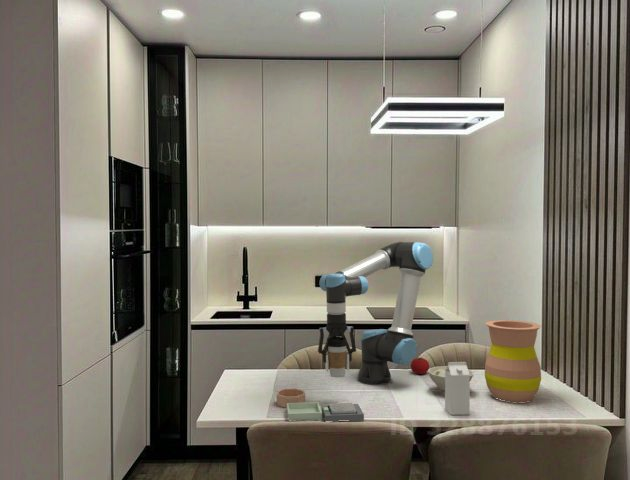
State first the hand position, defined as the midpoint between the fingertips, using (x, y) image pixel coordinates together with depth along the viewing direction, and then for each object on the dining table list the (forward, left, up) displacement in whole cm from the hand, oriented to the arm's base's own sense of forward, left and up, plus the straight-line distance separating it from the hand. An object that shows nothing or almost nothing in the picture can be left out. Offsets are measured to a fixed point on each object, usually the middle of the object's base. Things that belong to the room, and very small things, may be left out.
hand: (337, 369), depth 221 cm
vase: (-73, 0, -14) cm, 74 cm away
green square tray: (+14, +12, -13) cm, 23 cm away
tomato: (-45, -40, -14) cm, 62 cm away
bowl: (-50, -9, -14) cm, 52 cm away
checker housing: (0, +15, -13) cm, 20 cm away
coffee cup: (0, 0, -2) cm, 2 cm away
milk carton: (-44, +15, -14) cm, 48 cm away
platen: (0, +15, -11) cm, 19 cm away
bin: (+18, -2, -13) cm, 23 cm away
